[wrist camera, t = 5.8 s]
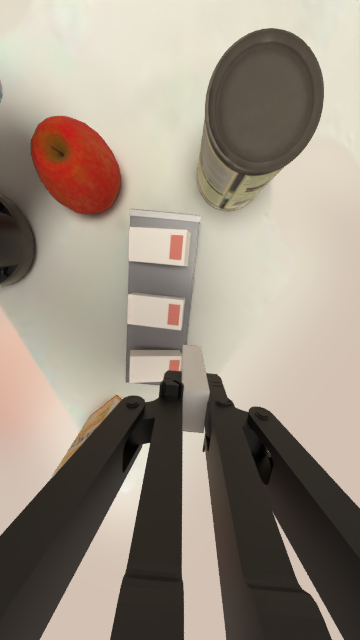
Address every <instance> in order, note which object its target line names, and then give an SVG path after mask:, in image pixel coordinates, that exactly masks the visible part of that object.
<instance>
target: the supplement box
mask: <svg viewBox="0 0 360 640" xmlns="http://www.w3.org/2000/svg"><path fill="white" fill-rule="evenodd" d="M120 401H121V399H120V398H119V397H118V396H115V397H114V398H113V399H112V400H110V401H109V402H108V403H107V404H105V405H104V406H103V407H102V408H101V409H99V410H98V411H96V412H95V413H94V414H92V415H91V416H90V417H89V418H88V420H87V422H86V423H85V425H84V426H83V428H82V429H81V431H80V433H79V434H78V436H77V438H76V439H75V441H74V442H73V444H72V445H71V447H70V449H69V450H68V452H67V453H66V455H65V457H64V458H63V460H62V461H61V463H60V464H59V466H58V467H57V469H56V471H55V472H54V474H53V475H52V477H53V476H54V475H55V474H56V473H57V472H58V471H59V469H60V468H61V467H62V466H63V465H64V464H65V463H66V462H67V460H68V459H69V458H70V457H71V456H72V455H73V454H74V453H75V451H76V450H77V449H78V448H79V447H80V446H81V445H82V444H83V442H84V441H85V440H86V439H87V438H88V437H89V436H90V435H91V434H92V432H93V431H94V430H95V429H96V428H97V427H98V426H99V425H100V423H101V422H102V421H103V420H104V419H105V418H106V417H107V416H108V414H109V413H110V412H111V411H112V410H113V409H114V408H115V407H116V405H117V404H118V403H119V402H120Z"/></svg>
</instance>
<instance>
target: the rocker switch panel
mask: <svg viewBox="0 0 360 640" xmlns="http://www.w3.org/2000/svg"><path fill="white" fill-rule="evenodd" d="M200 220H201V216H200V215H190V214H180V213H170V212H160V211H149V210H139V209H130V227H143V228H161V229H180V230H188V231H189V232H190V233H191V238H190V248H189V258H188V266H178V265H167V264H157V263H146V262H136V261H129V284H128V294H130V293H133V292H135V293H144V294H153V295H162V296H172V297H181V298H185V305H184V315H183V325H182V328H181V330H173V329H165V328H157V327H149V326H140V325H132V324H127V354H126V382H129V371H130V350H180V352H181V354H182V349H183V345H186V343H187V334H188V325H189V315H190V306H191V297H192V288H193V278H194V269H195V260H196V250H197V241H198V232H199V224H200ZM160 383H161V382H143V383H140V384H151V385H160Z"/></svg>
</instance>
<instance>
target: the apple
mask: <svg viewBox="0 0 360 640" xmlns="http://www.w3.org/2000/svg"><path fill="white" fill-rule="evenodd" d="M31 155H32V159H33V162H34V165H35V168H36V170H37V173H38V175H39V177H40V179H41V181H42V183H43V184H44V186H45V188H46V189H47V190H48V191H49V193H50V194H51V195H52V196H53V197H54V198H55V199H56V200H57V201H58V202H60V203H61V204H62V205H64V206H66V207H68V208H69V209H71V210H73V211H75V212H77V213H82V214H92V213H98V212H102V211H105V210H107V209H108V208H110V207H111V206H112V204H113V202H114V201H115V199H116V197H117V194H118V191H119V188H120V181H121V176H120V170H119V165H118V163H117V161H116V159H115V157H114V154H113V153H112V151H111V149H110V148H109V147H108V145H107V144H106V142H105V141H104V140H103V138H102V137H101V136H100V135H99V134H98V133H97V132H96V131H94V130H93V129H92V128H90V127H89V126H88V125H86V124H85V123H83V122H81V121H78V120H76V119H73V118H70V117H66V116H53V117H49V118H46V119H45V120H44V121H42V122H41V123H39V124H38V126H37V128H36V130H35V133H34V135H33V137H32V139H31Z"/></svg>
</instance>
